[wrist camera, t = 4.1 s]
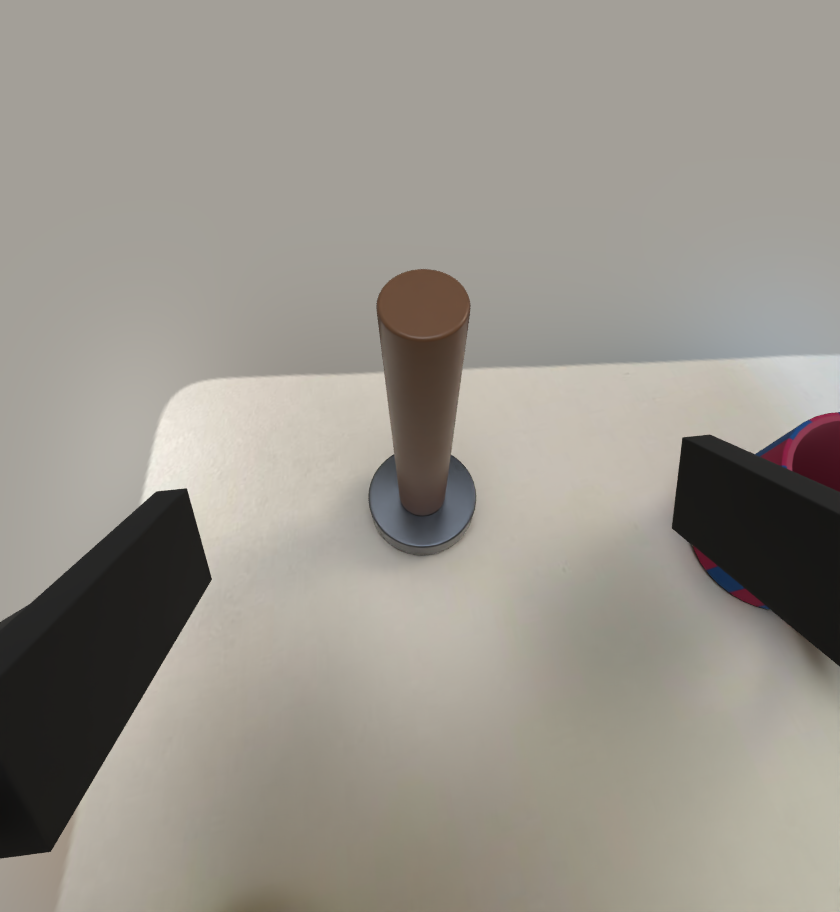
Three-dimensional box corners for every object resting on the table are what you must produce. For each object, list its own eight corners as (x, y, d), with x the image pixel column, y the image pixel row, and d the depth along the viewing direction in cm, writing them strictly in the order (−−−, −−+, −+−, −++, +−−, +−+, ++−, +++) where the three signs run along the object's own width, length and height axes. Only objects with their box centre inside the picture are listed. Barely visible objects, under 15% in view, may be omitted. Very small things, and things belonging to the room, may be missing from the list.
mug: (796, 474, 24) (922, 407, 18) (887, 685, 20) (1091, 690, 14) (670, 480, 24) (756, 415, 18) (736, 694, 20) (876, 704, 14)
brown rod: (362, 547, 23) (284, 381, 10) (381, 453, 25) (338, 214, 12) (467, 562, 23) (530, 412, 10) (477, 466, 25) (540, 235, 12)
